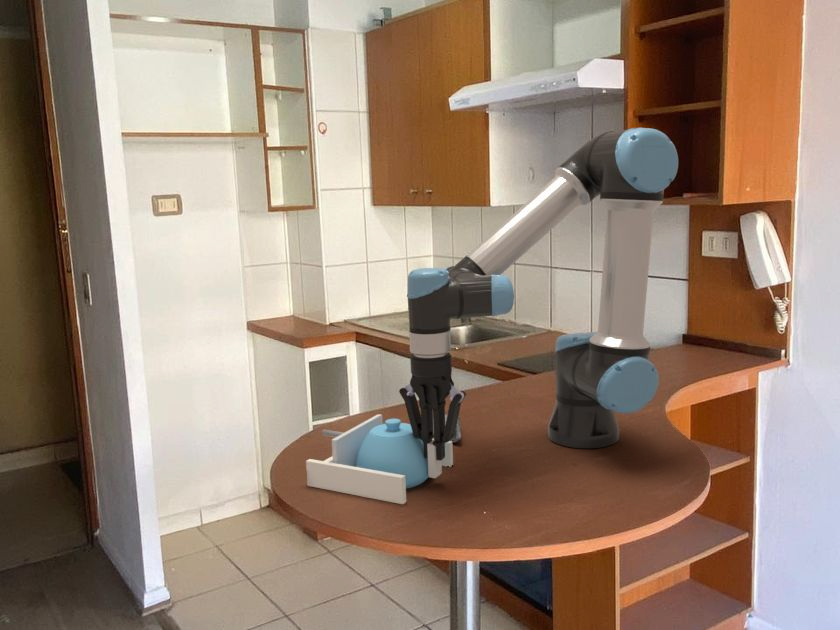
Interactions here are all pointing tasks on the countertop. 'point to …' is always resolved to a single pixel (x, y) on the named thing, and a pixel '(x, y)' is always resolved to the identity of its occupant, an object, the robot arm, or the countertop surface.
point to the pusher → (351, 441)
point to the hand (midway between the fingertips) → (435, 475)
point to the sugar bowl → (394, 452)
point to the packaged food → (457, 432)
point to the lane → (363, 479)
